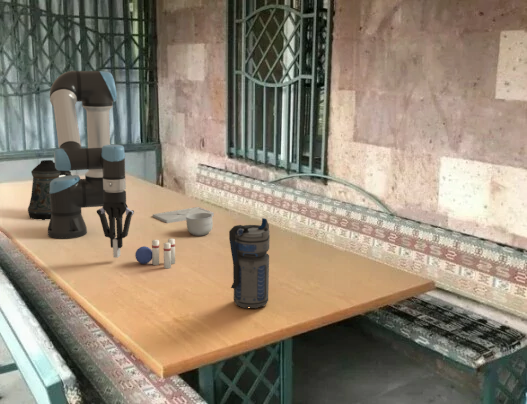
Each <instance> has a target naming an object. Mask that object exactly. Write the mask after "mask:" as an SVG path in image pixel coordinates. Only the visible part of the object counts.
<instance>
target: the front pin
mask: <svg viewBox="0 0 527 404" xmlns="http://www.w3.org/2000/svg"><path fill="white" fill-rule="evenodd" d="M151 250H152V260H151V262H152V263H151V264H152V266H159V265H160V240H159V239H152V240H151Z"/></svg>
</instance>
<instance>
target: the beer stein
mask: <svg viewBox="0 0 527 404" xmlns="http://www.w3.org/2000/svg"><path fill="white" fill-rule="evenodd" d="M69 175H72V172H71V171H60V170H57V169H56V168H55V161H53V160H51V159H46V160H43V159H42V160H40V162H39V163H38V164H37V165H36V166H35V167H34V168H33V169H32V170H31V176H32V185H31V195H30V201H29V203H28V204H29V205H28V208H27V213H28V216H29V219H31V218H32V220H34V219H42V220H41V221H46V220H45V219H51V200H50V193H49V191H50V182H51V181H52V180H53V179H56V178H58V177H62V176H69Z"/></svg>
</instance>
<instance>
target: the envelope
mask: <svg viewBox="0 0 527 404" xmlns="http://www.w3.org/2000/svg"><path fill="white" fill-rule="evenodd" d="M199 212H203V213H210V214H212V217H214V215H215V213H214V212H213V211H211V210H208V209H205V208H202V207H200V206H196V207H189V208H183V209H177V210H171V211H165V212H157V213H152V217H153V218H154V219H157V220H159V221H161V222H164V223H166V224H171V223H177V222H182V221H183V222H184V221H186V216H187V215H189V214H192V213H199Z"/></svg>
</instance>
